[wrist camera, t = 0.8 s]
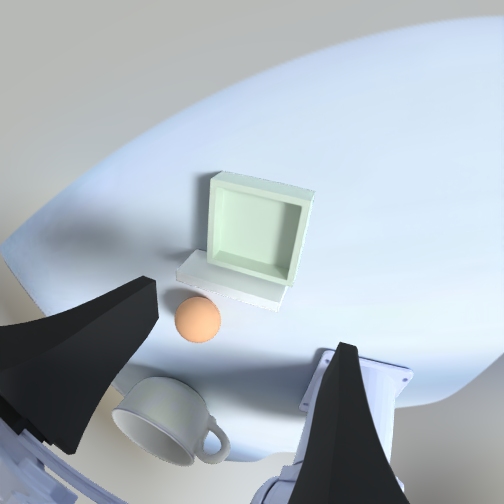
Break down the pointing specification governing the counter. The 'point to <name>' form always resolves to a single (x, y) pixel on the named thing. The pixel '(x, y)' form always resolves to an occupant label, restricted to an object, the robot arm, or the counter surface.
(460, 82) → the counter surface
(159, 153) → the counter surface
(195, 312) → the ball
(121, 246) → the counter surface
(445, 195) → the counter surface
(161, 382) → the teacup
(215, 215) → the tray
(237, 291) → the wall
